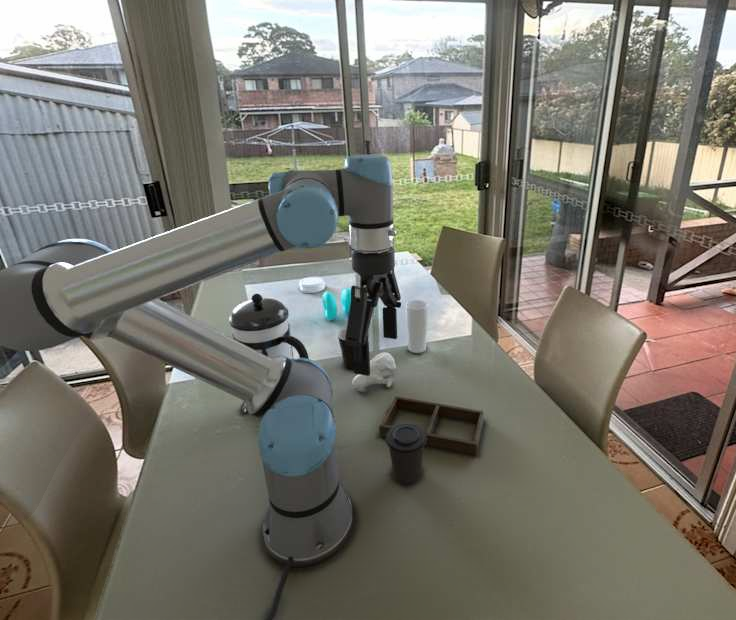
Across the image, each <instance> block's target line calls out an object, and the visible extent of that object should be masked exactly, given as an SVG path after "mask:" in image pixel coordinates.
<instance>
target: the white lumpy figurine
mask: <svg viewBox="0 0 736 620" xmlns="http://www.w3.org/2000/svg"><path fill="white" fill-rule="evenodd" d="M396 371H397V366H396V362H395V358H394V357H393V356H392V355H391V354H390V353H389V352H386V351H384V352H380V353H378V354H376V355H375V356H373V358H370V375H369V376H366V375H361V374H356V375H355V376H354V378H353V379H352V382H351V384H352V387H353V389H355V390H357V391H358V392H363V393H365V392H366V387H368V386H371V385H376V384H377V385H378V384H379V385H385V387H386V388H390V387H391V385H392V383H393V381H394V378H395V375H396Z"/></svg>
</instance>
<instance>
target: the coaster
mask: <svg viewBox="0 0 736 620" xmlns="http://www.w3.org/2000/svg"><path fill="white" fill-rule="evenodd" d="M298 284H299V290H300V291H301V292H303V293H306V294H313V293H314V294H315V293H319V292H322V291H324V289H325V288H326V283H325V279H324V278H323V277H321V276H307V277H304V278H302V279H301V280H299V283H298Z"/></svg>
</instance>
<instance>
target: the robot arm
mask: <svg viewBox="0 0 736 620" xmlns="http://www.w3.org/2000/svg"><path fill="white" fill-rule="evenodd" d="M343 167H344V168H343ZM343 167H342V168H339V169H338V168H337V169H319V170H315V169H314V170H313V169H312V170H294V169H289V170H286V171H277V172H273V173H271V174H270V175H269V178H268V191H269V194H268V195H266V196H264V197H261V198H257V199H255V200H251V201H249V202H246V203H244V204H241V205H238V206H235V207H233V208H230V209H228V210H224V211H222V212H221V211H220V212H219V213H216V214H213V215H210V216H208V217H204V218H201V219H199V220H197V221H194V222H191V223H189V224H186V225H183V226H180V227H177V228H175V229H171V230H170V231H166V232H164V233H161V234H158V235H155V236H153V237H150V238H147V239H145V240H142V241H139V242H136V243H133V244H131V245H128V246H125V247H123V248H120V249H117V250H112V249H111V248H110V247H108V246H106V245H104V244H102V243H100V242H98V241H94V240H90V239H86V238H68V239H63V240H60V241H57V242H52V243H48V244H46V245H44V246H41V247H39V248H38V249H37V250H35V251H33V252H32V254H29V255H28V256H26V257H24V258H22V259H20V260H19V261H17V262H15V263H13V264H12V265H11V264H10V266H8V267H5V268H3V269H1V270H0V346H1V347H4V349H9V350H14V351H19V352H20V351H21V352H35V351H36V352H38V351H44V350H47V349H52V348H55V347H58V346H60V345H62V344H65V343H68V342H70V341H73V340H76V339H77V338H80V337H84V338H86V339H87V340H90V341H96V340H97V341H98V340H100V339H104V338H111V339H113V340H115V341H117V342H119V343H121V344H122V345H125V346H128V347H130V348H132V349H134V350H136V351H138V352H139V353H142V354H144V355H147V356H149V357H150V358H153V359H155V360H158V361H159V362H161V363H163V364H165V365H168V366H170V367H172V368H174V369H176V370H178V371H180V372H183V373H184V374H187V375H189V376H191V377H193V378H194V379H197V380H199V381H202V382H203V383H206V384H208V385H209V386H211V387H214V388H216V389H218V390H221V391H223V392H225V393H228V394H229V395H231V396H233V397H235V398H238V399H239V400H241V401H243V402H244V401H245V406H246V408H247V413H248V414H250V415H252V416H254V417H257V418H259V419H261V420H260V423H259V426H258V437H257V445H258V450H259V454H260V457H261V462H262V467H263V473H264V479H265V484H266V489H267V496H268V503H267V507H266V511H265V515H264V519H263V523H262V535H263V541H264V546H265V548H266V551H267V552H268V554H269V555H270V556H271V558H273V559H274V560H275V561H277V562H278V563H280V564H282V565H284V568H283V571H282V573H281V574H282V575H281V577H280V580H279V582H278V585H277V587H276V590H275V593H274V597H273V600H272V604H271V607H270V609H269V612H268V614H267V615H266V617H265V618H264V620H273V619H274V616H275V615H276V612H277V610H278V607H279V604H280V600H281V597H282V593H283V590H284V587H285V584H286V581H287V579H288V576H289V574H290V570H291V568H292V567H295V568H298V567H299V568H302V567H310V566H313V565H317V564H319V563H322V562H324V561H325V560H327V559H329V558H331V557H332V556H333V555H336V553H337V552H338V551H339V550H340V549H341V548H342V547H343V546H344V545H345V544H346V541H347V540H348V539H349V537H350V534H351V533H352V528H353V523H354V515H353V505H352V502H351V500H350V498H349V496H348V495H347V493H346V491H345V490H344V489H343V487H342V485H341V483H340V477H339V465H338V463H339V462H338V453H337V441H336V437H337V436H336V435H337V431H336V429H337V428H336V422H335V419H334V416H335V415H334V405H333V396H334V395H333V393H334V392H333V386H332V383H331V380H330V377H329V375H328V372H327V370H326V369H325V368H324V367H323V366H322V365H321V364H319V363H318V362H317V361H315V360H313V359H311V358H309V359H307V358H300V357H298V358H294V357H292V359H289V358H287V357H285V356H283V355H280V356H277V357H273V358H269V357H267V356H265V355H263V354H262V353H260V352H258V351H256V350H254V349H252V348H250V347H248V346H246V345H244V344H243V343H241V342H239V341H237V340H235V339H233V337H231V336H230V335H228V334H226V333H224V332H222V331H220V330H218V329H216V328H215V327H212V326H210V325H209V324H207V323H205V322H203V321H201V320H199V319H197V318H195V317H193V316H192V315H190V314H188V313H186V312H184V311H182V310H180V309H178V308H176V307H174V306H173V305H171V304H169V303H168V302H165V301H163V300H161V299H160V298H164V297H166V296H169V295H171V294H174V293H177V292H179V291H182V290H185V289H188V288H190V287H193V286H195V285H197V284H200V283H203V282H206V281H208V280H211V279H213V278H217V277H218V276H219V277H220V276H222V275H225V274H226V273H229V272H232V271H235V270H237V269H241V268H243V267H245V266H248V265H251V264H254V263H256V262H259V261H261V260H264V259H267V258H269V257H271V256H272V257H273V256H274V255H277V254H280V253H282V252H284V251H287V250H291V249H294V248H301V249H315V248H318V247H321V246H323V245H325V244H326V243H328V242H329V241H330V240H331V239H332V237H333V236H334V234H335V233H336V230H337V226H338V221H339V217H345V216H347V217H348V227H349V246H350V247H351V250H350V258H351V259H350V260H351V269H352V271H353V272H354V273H356V274H358V275H359V285H351V287H350V289H351V303H350V310H349V316H347V325H346V327H347V331H346V338H345V344H346V345H351V346H353V357H354V370H353V371H354V374H356V375H359V374H361V375H366V376H369V375H370V361H371V358H370V343H369V342H370V341H369V340H368V341H366V339H367V335H368V331H369V330H370V325H371V322H372V317H373V313H374V308H376V307H378V303H379V299H380V301H381V302H382V304H383V305H384V306H383V307H382V308H381V309H382V326H383V327H382V332H383V333H382V334H383V338H385V339H391V340H397V339H398V320H397V319H398V312H397V310H398V309H401V307H402V301H401V298H402V296H401V293H400V288H399V285H398V281H397V278H396V274H395V267H396V264H395V263H396V261H395V259H396V258H395V248H393V246H394V244H395V236H397V231H396V230H394V183H393V173H392V163H391V159H390V158H389V157H387V156H386V155H383V154H373V153H372V154H370V153H369V154H368V153H367V154H365V153H363V154H353V155H349V156H346V158H345V161H344V166H343Z"/></svg>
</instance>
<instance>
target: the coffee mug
mask: <svg viewBox="0 0 736 620" xmlns="http://www.w3.org/2000/svg"><path fill="white" fill-rule="evenodd" d="M346 331H347V326H346V327H343V328H341V329H340V330H339V331H338V332H337V338H338V342H339V343H338V344H339V347H340V353H341V357H342V362H343V367H344V368H345V369H347V370H349V371H354V357H353V346H351V345H346V344H345V338H346ZM369 336H370V332H369V330H368V335H367V339H366V341H369V338H370V337H369Z"/></svg>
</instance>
